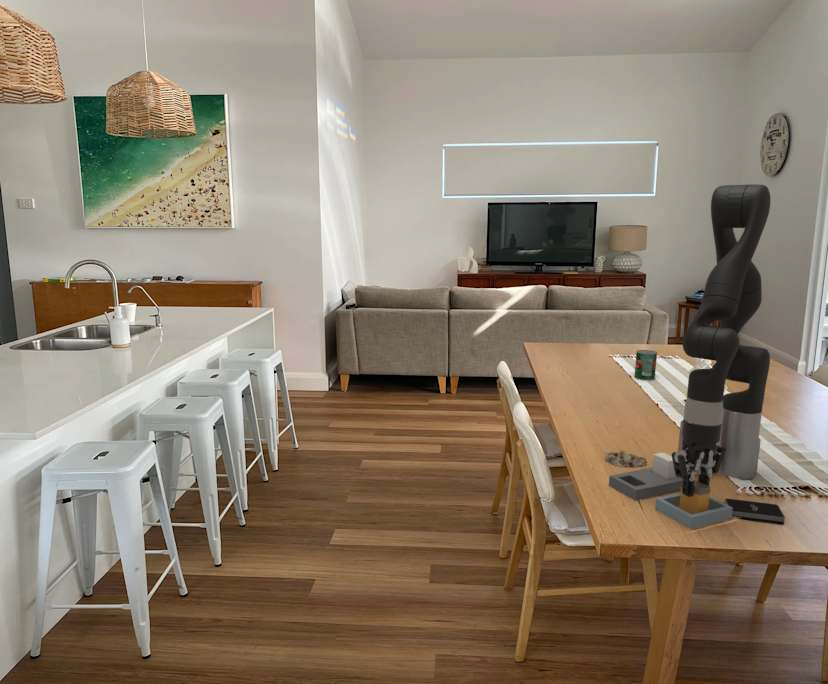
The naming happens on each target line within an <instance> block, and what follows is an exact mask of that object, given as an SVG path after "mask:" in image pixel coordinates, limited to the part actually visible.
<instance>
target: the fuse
mask: <svg viewBox="0 0 828 684" xmlns="http://www.w3.org/2000/svg"><path fill="white" fill-rule="evenodd" d="M652 472H653V473H655V474H657V475H659V476H661V477H663V478H665V479H667V480H669V479H674V478H677V476H676V475H675V470H674V465H673V460H672V455H670V454H668V453H666V452H658V453H653V457H652Z"/></svg>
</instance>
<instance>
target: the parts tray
mask: <svg viewBox="0 0 828 684" xmlns="http://www.w3.org/2000/svg"><path fill="white" fill-rule="evenodd" d="M680 494H681V492H679V493H675V494H673V493H672V494H670V495H665V496H661V497H657V498H655V505H654V506H655V507H654V509H655V510H656V511H658V512H660V513H662V514H663V515H666V516H667V517H669V518H670V519H672V520H675V522H678V523H679V524H681V525H683V526H684V527H686V528H687V529H688V528H689V529H690V530H689V531H694V530H695V531H696V530H699V529H704V527H705V528H707V527H708V526H709V527H712V525H713V526H715V525H716V524H717V525H719V524H720V523H721V524H724V522H725V523H726V522H730V521H732V517H733V516H732V510H733V507H731V506H729V505H726V504H724V502H723V501H720V500H718V499H716V498H714V497H712V496H711V495H710V496H709V505H708V511H705V512H701V513H696V514H692V515H691V514H689V513H687V512H686V511H684V510H682V509H680V508H679V504H680ZM726 520H727V521H726ZM691 529H692V530H691Z"/></svg>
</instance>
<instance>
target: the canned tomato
mask: <svg viewBox="0 0 828 684" xmlns="http://www.w3.org/2000/svg"><path fill="white" fill-rule="evenodd" d="M635 354H636V355H635V366H634V377H635V378H634V379H636V378H637V379H636V380H639V379H640V380H639V381H645V380H648V382H650V380H651V381H655V380H654V379H656V371H657V369H656V367H657V359H658V358H657V356H658V352H657V351H655V350H649V349H637V350H636V353H635Z"/></svg>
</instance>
